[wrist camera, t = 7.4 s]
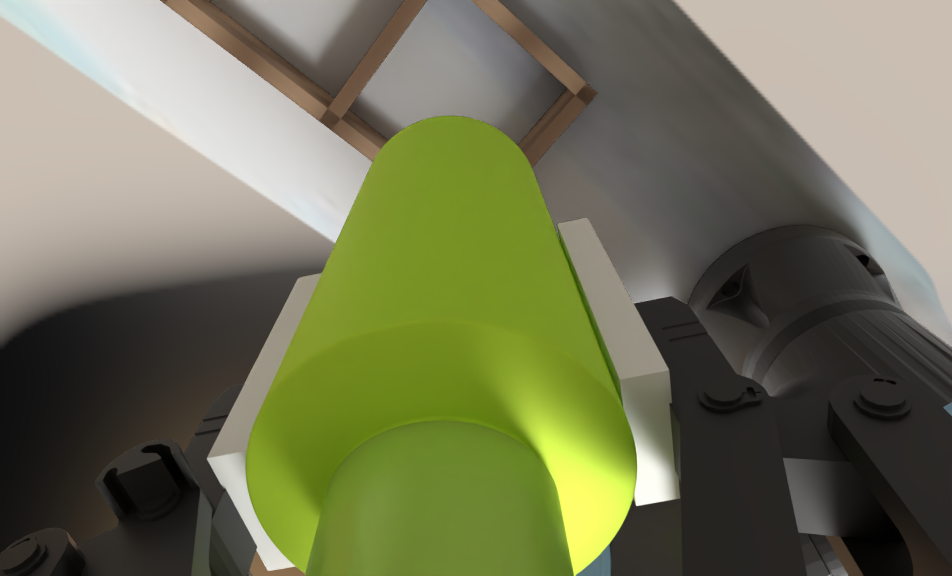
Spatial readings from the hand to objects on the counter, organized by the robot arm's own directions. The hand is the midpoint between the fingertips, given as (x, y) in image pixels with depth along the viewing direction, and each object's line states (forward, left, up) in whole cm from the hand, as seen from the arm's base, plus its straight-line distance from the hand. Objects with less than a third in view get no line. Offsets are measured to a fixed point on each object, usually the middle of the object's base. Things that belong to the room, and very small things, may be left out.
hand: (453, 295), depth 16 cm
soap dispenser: (0, 0, -6) cm, 6 cm away
